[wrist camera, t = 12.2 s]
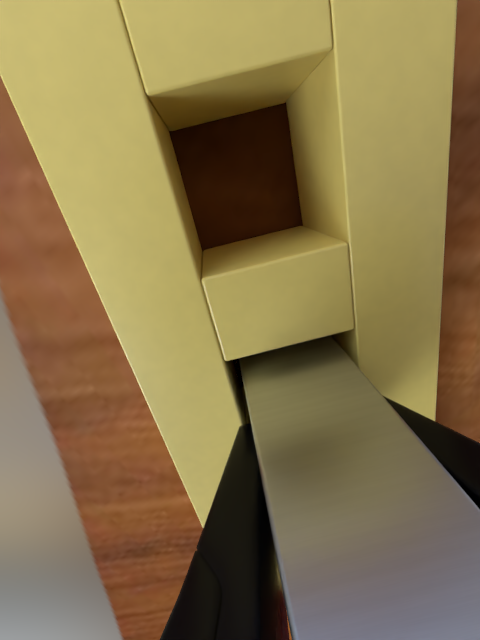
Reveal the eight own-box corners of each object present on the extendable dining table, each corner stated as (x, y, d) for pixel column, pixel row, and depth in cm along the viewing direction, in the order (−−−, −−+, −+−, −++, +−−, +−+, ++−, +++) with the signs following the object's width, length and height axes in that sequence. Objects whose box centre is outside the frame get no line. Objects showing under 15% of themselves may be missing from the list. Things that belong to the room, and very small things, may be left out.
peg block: (356, -22, 9) (469, -182, 5) (381, 482, 17) (428, 561, 14) (55, 52, 9) (-59, -52, 5) (231, 520, 17) (238, 609, 14)
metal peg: (323, 325, 10) (838, 918, 2) (332, 395, 11) (666, 941, 3) (236, 346, 10) (366, 1036, 2) (254, 414, 11) (382, 1015, 3)
